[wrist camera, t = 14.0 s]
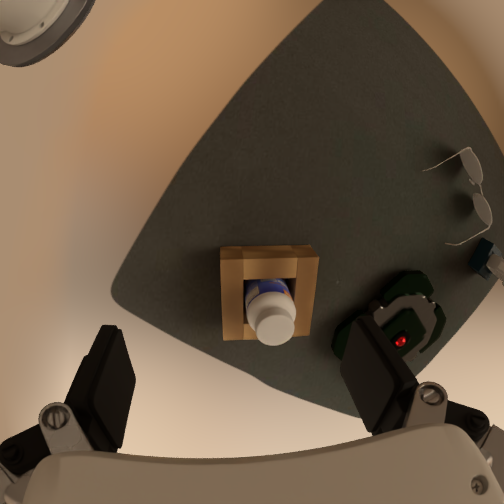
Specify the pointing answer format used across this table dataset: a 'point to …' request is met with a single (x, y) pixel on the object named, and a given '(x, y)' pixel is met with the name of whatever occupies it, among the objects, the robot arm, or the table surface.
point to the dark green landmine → (401, 316)
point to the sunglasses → (475, 173)
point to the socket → (266, 267)
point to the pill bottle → (270, 310)
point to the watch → (487, 260)
